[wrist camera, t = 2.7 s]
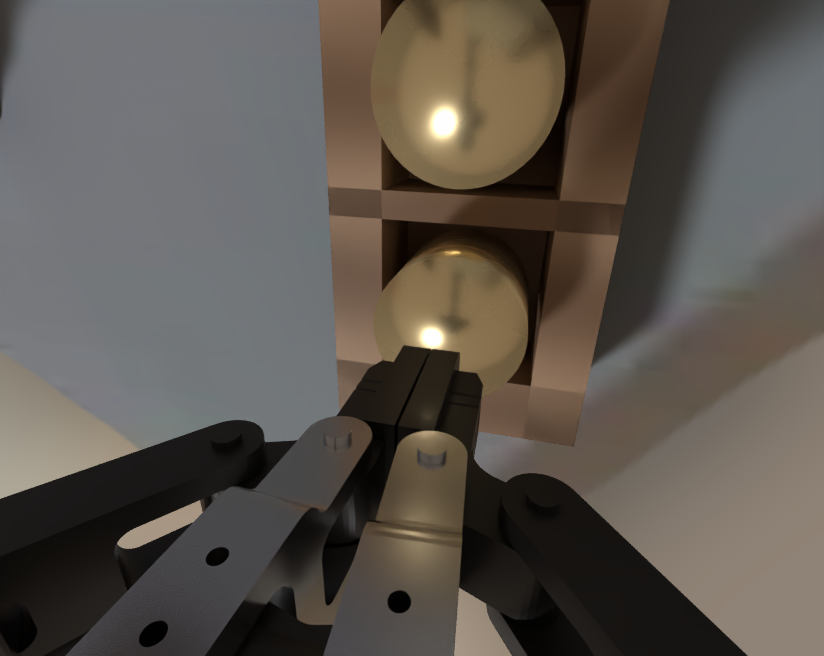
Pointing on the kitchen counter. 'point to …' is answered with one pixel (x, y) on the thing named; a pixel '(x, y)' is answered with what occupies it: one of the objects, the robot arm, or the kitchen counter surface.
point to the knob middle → (467, 87)
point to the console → (495, 201)
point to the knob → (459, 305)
